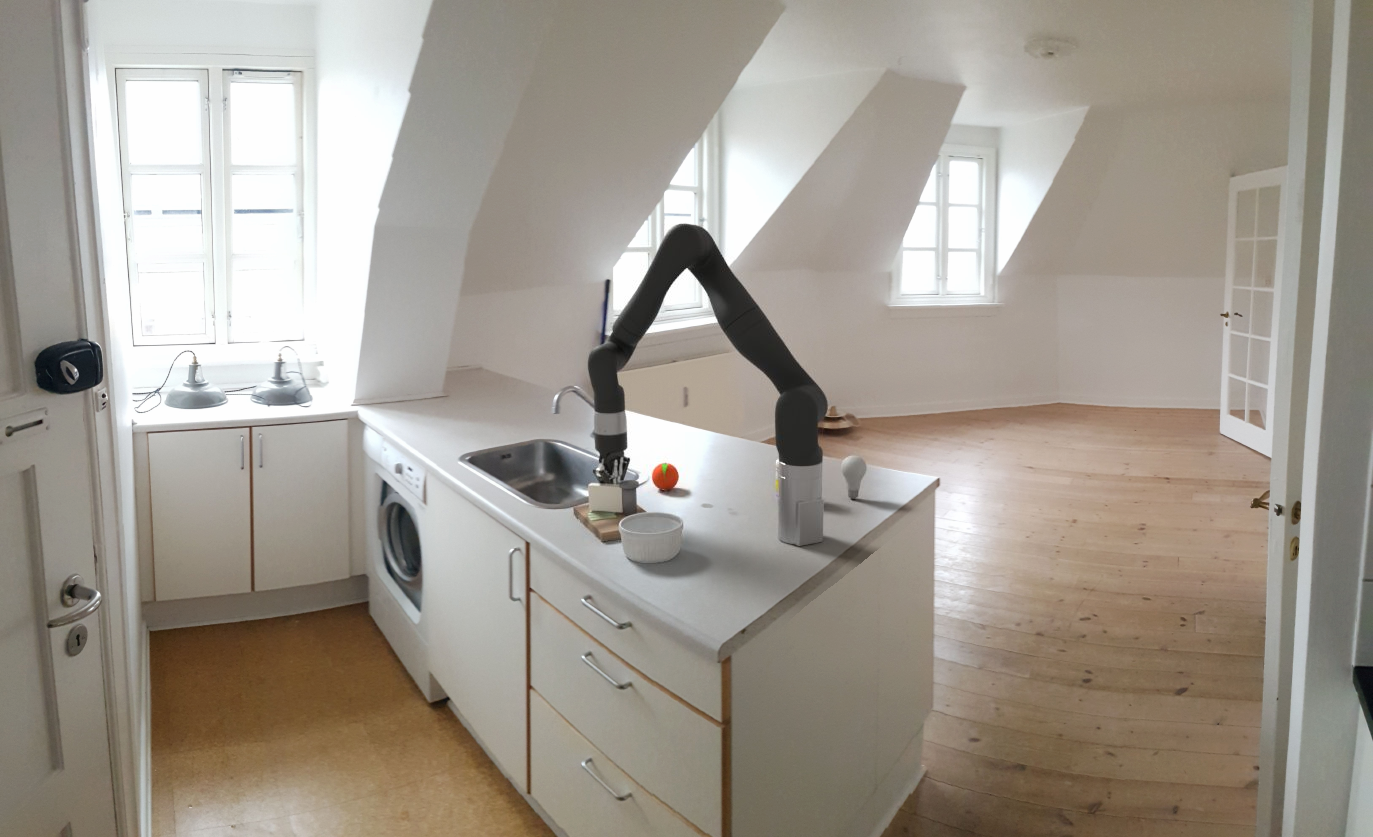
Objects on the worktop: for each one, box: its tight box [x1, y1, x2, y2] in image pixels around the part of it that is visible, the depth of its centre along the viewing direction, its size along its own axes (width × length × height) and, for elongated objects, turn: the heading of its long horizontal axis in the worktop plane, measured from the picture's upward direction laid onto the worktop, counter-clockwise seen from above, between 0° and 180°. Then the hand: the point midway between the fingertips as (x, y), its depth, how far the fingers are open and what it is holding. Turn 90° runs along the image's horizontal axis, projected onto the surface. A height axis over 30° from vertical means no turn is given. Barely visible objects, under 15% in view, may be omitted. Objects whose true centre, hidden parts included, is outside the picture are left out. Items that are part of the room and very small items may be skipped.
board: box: [573, 504, 647, 543], centre depth 197 cm, size 20×14×2 cm
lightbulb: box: [840, 455, 868, 500], centre depth 211 cm, size 6×6×11 cm
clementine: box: [651, 462, 680, 491], centre depth 221 cm, size 8×7×7 cm
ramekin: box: [619, 511, 684, 564], centre depth 178 cm, size 13×13×7 cm
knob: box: [587, 479, 640, 515], centre depth 197 cm, size 12×4×7 cm, turn 76°
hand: (613, 501), depth 203 cm, fingers closed
